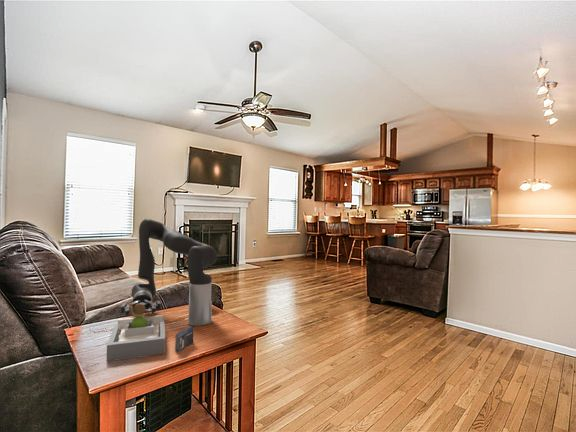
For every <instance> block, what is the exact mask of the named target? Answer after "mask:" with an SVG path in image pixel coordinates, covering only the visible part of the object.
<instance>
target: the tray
mask: <svg viewBox="0 0 576 432" xmlns="http://www.w3.org/2000/svg"><path fill="white" fill-rule="evenodd" d="M143 317H144V318H145V319H146V321H147V325H146V327H139V328H132V327H131V322H132V320H133V319H134V318H135V317H128V318H126V317H125V318H118V319H117V326H119V331H120V333H119V340H118V342H120V341H128V340H137V339H145V338H154V337H160V321H164V314H159V315H158V314H157V315H147V316H143Z"/></svg>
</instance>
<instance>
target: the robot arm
mask: <svg viewBox="0 0 576 432" xmlns="http://www.w3.org/2000/svg"><path fill="white" fill-rule="evenodd" d="M138 227H139V228H138V245H139V246H138V247H139V263H138V271H137V272H138V273H137V278H138V279H139V280H143V281H147V282H148V283H137V284H134V285H133V286H132V288H131V296H132V301H131V303H132V304H133V305H132V306H133V308H134V306H135V305H136V304H139V303H140V304H143V305H144V306H145V312H147V311H148V312H151V314H154V313H156V311H161V305H162V302H161V300H159V299H157V300H156V301H155V302H154V301H153V299H154V298H155V296H156V294H157V288H156V284H155V283H156V282H155V265H156V263H155V262H156V261H155V256H154V254H153V251H152V249H151V245H150V239H152V240H157V241H160V242H162V243H163V245H164V247H166V248H167V249H168V250H169V251H172V253H173V252H174V253H177V254H180V255H185V256H187V274H188V275H187V276H188V279H189V285H188V286H189V288H188V291H189V292H188V318H187V319H188V320H187V321H188V325H189V326H195V327H197V326H205V325H208V324H212V315H213V314H212V312H213V309H212V308H213V307H212V306H213V301H212V279H213V278H212V276H211V275H210V274H208V273H205V272H204V268H205V267H210V266H213V265H214V264H215V263H216V262H217V259H218V254H217V253H218V252H217V251H216V249H215V248H214V247H213V246H212V245H210V244H206V243H203V242H200V241H197V240H195V239H193V238H192V237H189V236H188V235H186V234H184V233H181V232H180V231H177V230H175V229H171V228H169V227H168V226H167V225H165V224H164V223H162V222H160V221H157V220H154V219H150V218H144V219H143V220H142V221H141V222H140V224H139V226H138ZM120 313H121V314H124V315H126V316H127V317H129V316H130V314H131V311H130V307H129V303H127V302H122V304H121V305H120Z"/></svg>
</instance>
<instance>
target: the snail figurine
mask: <svg viewBox="0 0 576 432" xmlns="http://www.w3.org/2000/svg"><path fill="white" fill-rule="evenodd" d="M128 304H129V307H130V311H131V312H130V314H131V315H132V317H133V318H134V319H133V320H132V322H131V327H132V328H139V327H146V325H147V321H146V319H145V318H144V317H145V315H146V313H145V312H146V311H145V306H144V305H143V304H140V303H139V304H136V305H135V306H134V308H133V306H132V305H133V304H132V302H131V299H128Z"/></svg>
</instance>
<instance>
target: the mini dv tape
mask: <svg viewBox="0 0 576 432" xmlns="http://www.w3.org/2000/svg"><path fill="white" fill-rule="evenodd" d="M194 330H195V329H194V327H193V325H189V326H188V327H186V328H185V329H183V330H180V331H178V332H177V333H175V342H174V344H175V346H174V347H175V348H174V349H175V350H174V351H175V352H176V353H180V352H182V351H183V350H185V349H186V348H189V346H191V345H193V344H194V332H195V331H194Z"/></svg>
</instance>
